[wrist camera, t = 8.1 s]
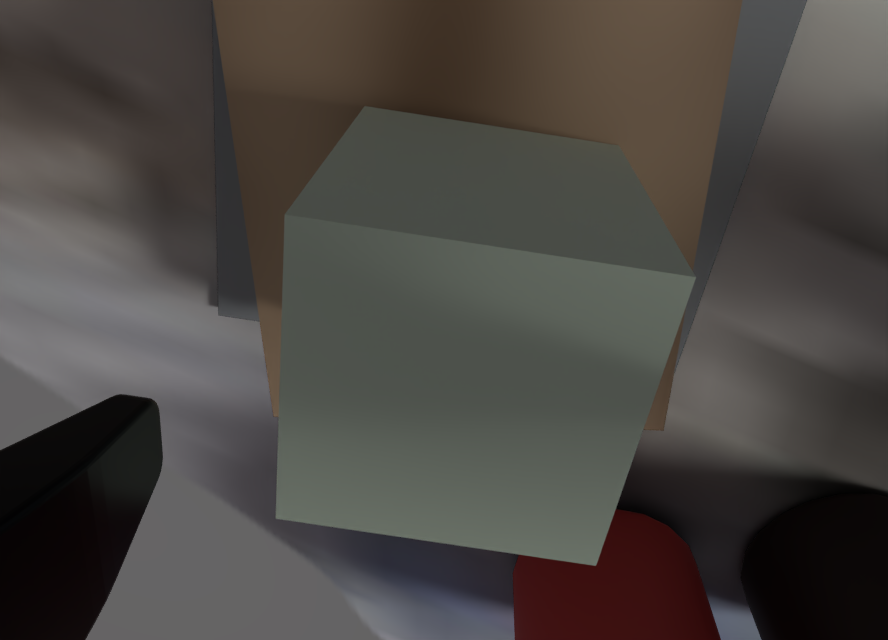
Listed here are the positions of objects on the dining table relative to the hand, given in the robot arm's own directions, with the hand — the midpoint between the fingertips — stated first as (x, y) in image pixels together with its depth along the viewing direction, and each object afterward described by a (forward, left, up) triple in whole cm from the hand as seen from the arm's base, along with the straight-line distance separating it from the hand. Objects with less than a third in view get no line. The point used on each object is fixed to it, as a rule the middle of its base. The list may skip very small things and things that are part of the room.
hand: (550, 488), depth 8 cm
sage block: (+1, 0, -8) cm, 8 cm away
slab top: (+1, 0, -10) cm, 10 cm away
